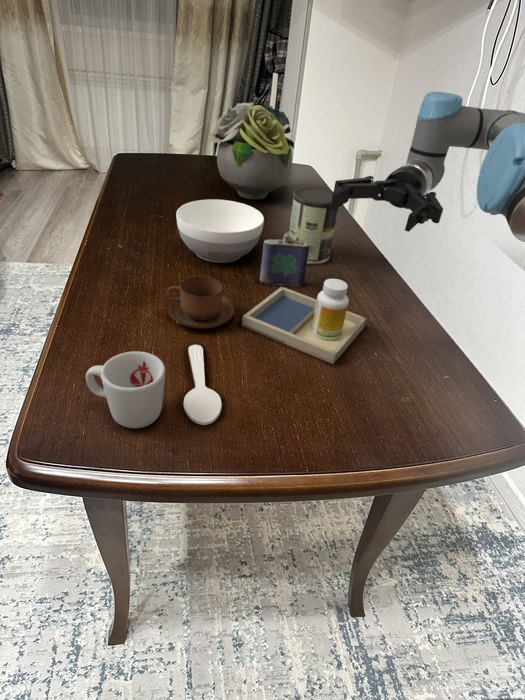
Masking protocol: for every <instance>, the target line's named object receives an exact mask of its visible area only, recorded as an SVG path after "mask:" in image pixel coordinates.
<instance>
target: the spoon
mask: <svg viewBox="0 0 525 700" xmlns="http://www.w3.org/2000/svg"><path fill="white" fill-rule="evenodd" d="M187 348H188V349H187V353H188V357H189V362H190V367H191V372H192V378H193V382H194V388H192V389H191V390H189V391H188V392H187V393H186V394H185V396H184V398H183V402H182V403H183V409H184V412H185V414H186V415H187V417H188V418H189V420H191V421H192V422H194V423H195V424H198V425H200V426H201V425H202V426H207V425H210V424H212V423H214V422H215V421H217V419H218V418H219V416H220V414H221V411H222V407H223V404H222V398H221V396H220V394H219V393H217V392H216V391H215V390H214V389H211V388H209V387H207V386H206V377H205V361H204V360H205V359H204V349H203V347H202V346H201V345H200V344H191V345H189V346H188V347H187Z"/></svg>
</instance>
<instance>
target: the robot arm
mask: <svg viewBox="0 0 525 700" xmlns="http://www.w3.org/2000/svg"><path fill="white" fill-rule="evenodd" d="M416 118H417V119H416V123H415V128H414V132H413V136H412V140H411V145H410V147H409V151H408V155H407V158H406V161H405V164H402V165H401V166H400V167H398V168H397V169H395V170H394V171H392V172H391V173H389V174H388V176H387V177H386V178H385V180H374V178H375V177H374V176H373V175H367V176H364V177H358V178H349V179H340V180H339V179H338V180H335V182H334V188H333V197H332V202H331V208H330V209H332V210H335V209H337V208H338V207H339V208H340V207H341V206H343V205H345V204H347V203H348V202H349V201H350V200H359V199H372V200H374V201H376V202H378V201H379V202H383V201H384V202H386V203H389V204H390V205H391V206H393V207H395V208H398V209H405V210H410V211H411V212H410V213H409V214H408V217H407V220H406V223H405V227H404V231H405V232H408V233H409V232H411V231H412V229H414V228H415V227H416V226H417V225H418V224H420V225H423V224H425V223H426V222H428V221H429V220H431V222H432V223H434V224H440V221H441V218H442V215H443V211H444V208H443V206H442V205H441V203H440V201H439V199H438V198H437V197H436V196H437V192H435V191H432V190H434V189H435V188H436V187H437V186H438V185H439V184H440V183H441V181H442V179H443V178H444V175H445V170H446V167H445V160H446V158H447V155H448V151H449V148H450V147H452V148H453V147H454V148H465V149H475V150H483V151H486V153H485V156H484V159H483V160H482V163H481V167H480V170H479V173H478V178H477V184H476V200H477V204H478V206H479V208H480V210H481V211H482V212H483V213H487V214H490V215H491V216H498V215H502V216H504V218H505V220H506V222H507V225H508V227H509V230H510V231H511V234H512V236H514V238H515V239H517V240H518V241H520V242H523V243H525V113H524V112H522V111H521V112H520V111H516V110H512V109H506V110H505V109H504V110H503V109H494V108H481V107H480V108H479V107H475V106H467V105H463V97H462V96H461V95H459V94H455V93H450V92H444V91H430V92H427V93H426V94H425V95H424V97H423V101H422V102H421V105H420V108H419V111H418V114H417V117H416ZM339 208H338V209H339Z"/></svg>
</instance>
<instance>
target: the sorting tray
mask: <svg viewBox="0 0 525 700" xmlns="http://www.w3.org/2000/svg"><path fill="white" fill-rule="evenodd" d="M316 301H317V298H314V297H312V296H311V297H310V296H308V295H305V294H302V293H301V292H297V291H295V290H292V289H289V288H286V287H284V286H280V287H278V289H276V290H275V291H274V292H272V293H271V294H269V295H268V296H267V297H265V298H264V299H263V300H261V302H259V303H258V304H256V305H255V306H254V307H252V309H250V310H249V311H247V312H246V313H245V314H243V315H242V319H241V320H242V321H241V326H242V327H244V328H246V329H249V330H250V331H253V332H256V333H258V334H260V335H262V336H264V337H267V338H269V339H272V340H274V341H277V342H279V343H282V344H284V345H286V346H289V347H291V348H293V349H296V350H298V351H301V352H303V353H306V354H308V355H311V356H312V357H315V358H317V359H320V360H322V361H324V362H327V363H329V364H332V365H334V364H335V363H336V362H337V361H338V359H339V358H340V357H342V355H343V354H344V353H345V351H346V350H347V349H348V348H349V346H350V345H352V344H353V342H354V340H355V339H356V338H357V337H358V336H359V335H360V333H361V332H362V331H363V330H364V329H365V328H366V327H365V326H366V323H367V317H365V316H362V315H360V314H357V313H354V312H351V311H348V310H347V312H346V316H345V320H344V325H343V329H342V334H341V336H340V337H339V338H337V339H334V340H325V339H321V338H319V337H317V336H315V335H314V334H313V332H312V323H313V317H314V312H315V306H316Z"/></svg>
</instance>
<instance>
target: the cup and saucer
mask: <svg viewBox="0 0 525 700" xmlns="http://www.w3.org/2000/svg"><path fill="white" fill-rule="evenodd" d="M174 290H175V291H177V292H179V293H178V294H176V295H174V296H173V295H172V293H171V292H172V291H174ZM223 291H224V286H223V284H222V282H221V281H219V280H218V279H217V278H213V277H210V276H204V275H196V276H191V277H187V278H185V279H184V280H182V281H181V283H180V286H179V285H178V286H177V285H172V286H169V287H168V288H167V290H166V295H167V297H168V299H170V300H169V301H168V302H167V305H166V310H167V314H168V315H169V316H170V318H171V319H172V320H174V321H175V322H176V323H178V324H180V325H181V326H183V327H187V328H193V329H200V330H203V329H212V328H213V329H214V328H216V327H220V326H222V325H224V324H225V323H228V322H229V321H230V320H232V318H233V316H234V314H235V311H236V307H235V306H236V305H235V304H234V302H233V301H232V300H231V299H230V298H229V297H227V296H225V295H224V292H223Z"/></svg>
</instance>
